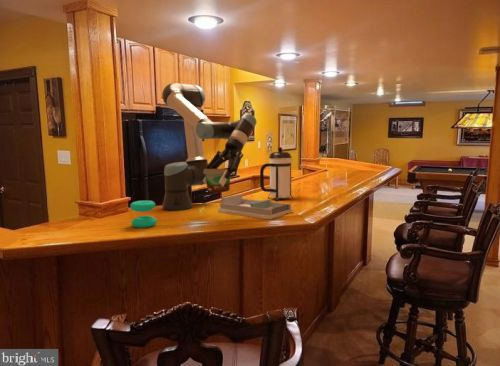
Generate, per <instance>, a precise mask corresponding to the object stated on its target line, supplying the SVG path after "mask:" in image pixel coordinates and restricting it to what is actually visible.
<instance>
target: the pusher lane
mask: <svg viewBox="0 0 500 366" xmlns="http://www.w3.org/2000/svg"><path fill="white" fill-rule="evenodd" d="M220 201H221V203H219V208H218V209H217V212H218V213H223V214H230V215H235V216H243V217H248V216H249V217H250V218H257V219H261V220H272V219H274V218H278V217H281V215H282V216H285V215H287V213H288V214H290V212H291V213H293V212H292V211H293V210H294V209H293V208H292V204H291V203H284V202H283V203H282V202H278V201H275V202H274V201H270V207H267V208H255V207H251V206H250V203H251V202H255V203H256V202H260V201H261V200H259V199H258V200H257V199H249V198H243V193H239V194H235V195H230V196H225V197H221V199H220ZM284 214H285V215H284ZM249 217H248V218H249Z"/></svg>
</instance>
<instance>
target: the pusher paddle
mask: <svg viewBox="0 0 500 366" xmlns="http://www.w3.org/2000/svg"><path fill="white" fill-rule="evenodd" d="M270 200H271V199H268V198H267V199H265V200H259V201H260V202H256V203H255V202H251V203H250V206H251V207H255V208H267V207H270V202H271V201H270Z"/></svg>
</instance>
